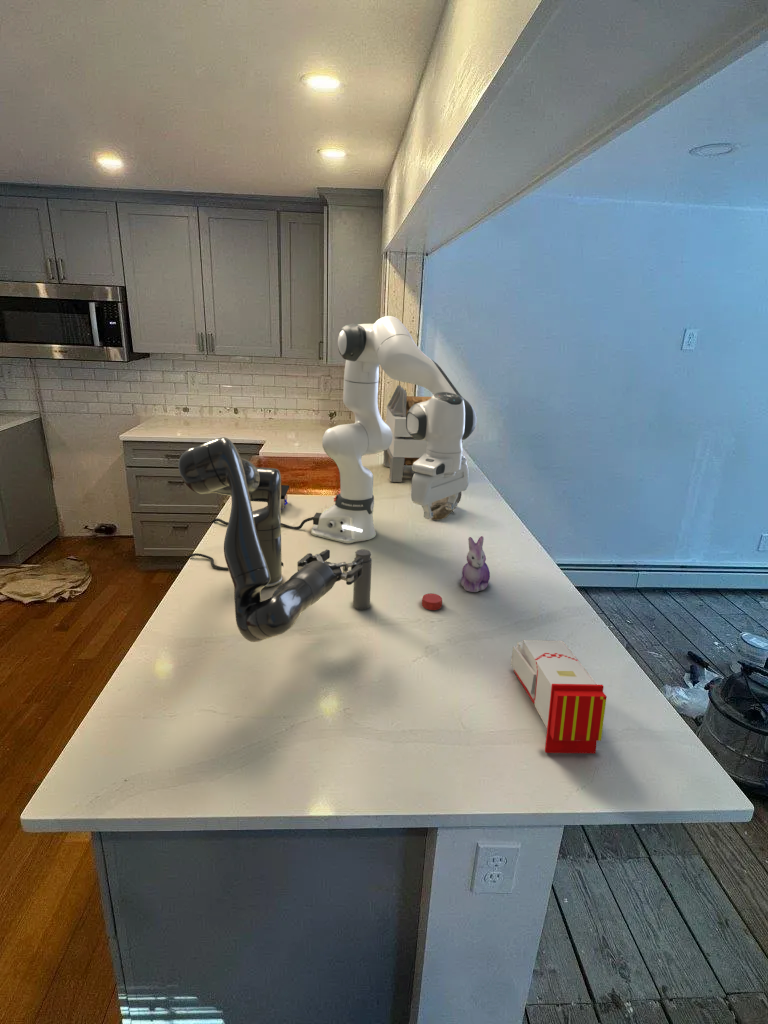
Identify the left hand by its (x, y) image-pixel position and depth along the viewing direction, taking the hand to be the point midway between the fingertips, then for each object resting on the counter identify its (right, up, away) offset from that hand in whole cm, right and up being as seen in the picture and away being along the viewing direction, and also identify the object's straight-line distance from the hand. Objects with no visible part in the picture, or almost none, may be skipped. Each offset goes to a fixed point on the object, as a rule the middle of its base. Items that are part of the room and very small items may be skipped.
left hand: (344, 556), depth 135 cm
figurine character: (-31, +12, +84) cm, 91 cm away
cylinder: (+4, -14, +16) cm, 21 cm away
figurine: (+36, -11, +29) cm, 47 cm away
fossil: (+33, +10, +88) cm, 94 cm away
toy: (+43, -29, -20) cm, 55 cm away
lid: (+22, -13, +17) cm, 31 cm away
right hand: (+24, +10, +8) cm, 27 cm away
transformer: (+27, +30, +140) cm, 145 cm away
